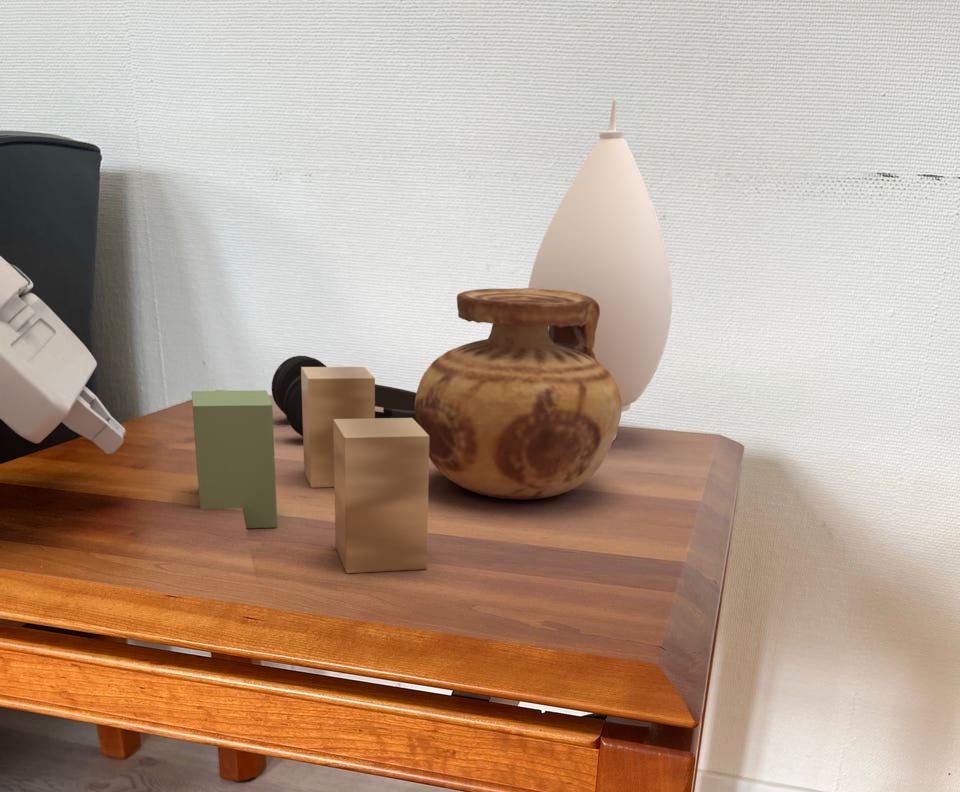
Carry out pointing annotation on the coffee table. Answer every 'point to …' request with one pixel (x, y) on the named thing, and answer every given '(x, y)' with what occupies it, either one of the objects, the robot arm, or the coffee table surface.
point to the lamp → (612, 262)
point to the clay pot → (521, 396)
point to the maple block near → (381, 494)
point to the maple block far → (331, 413)
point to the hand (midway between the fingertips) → (119, 444)
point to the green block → (236, 453)
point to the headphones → (289, 371)
